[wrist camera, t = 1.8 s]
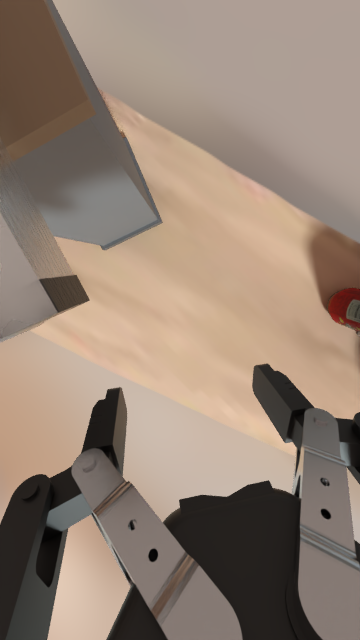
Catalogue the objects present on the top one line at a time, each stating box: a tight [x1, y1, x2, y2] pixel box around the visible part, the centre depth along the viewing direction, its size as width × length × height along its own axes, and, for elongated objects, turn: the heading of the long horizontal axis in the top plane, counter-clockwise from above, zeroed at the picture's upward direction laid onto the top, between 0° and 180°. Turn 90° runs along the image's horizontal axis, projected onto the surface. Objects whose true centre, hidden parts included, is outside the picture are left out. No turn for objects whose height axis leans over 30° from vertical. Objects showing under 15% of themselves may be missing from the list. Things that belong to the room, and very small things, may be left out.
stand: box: [0, 0, 163, 250], centre depth 25 cm, size 14×12×32 cm
